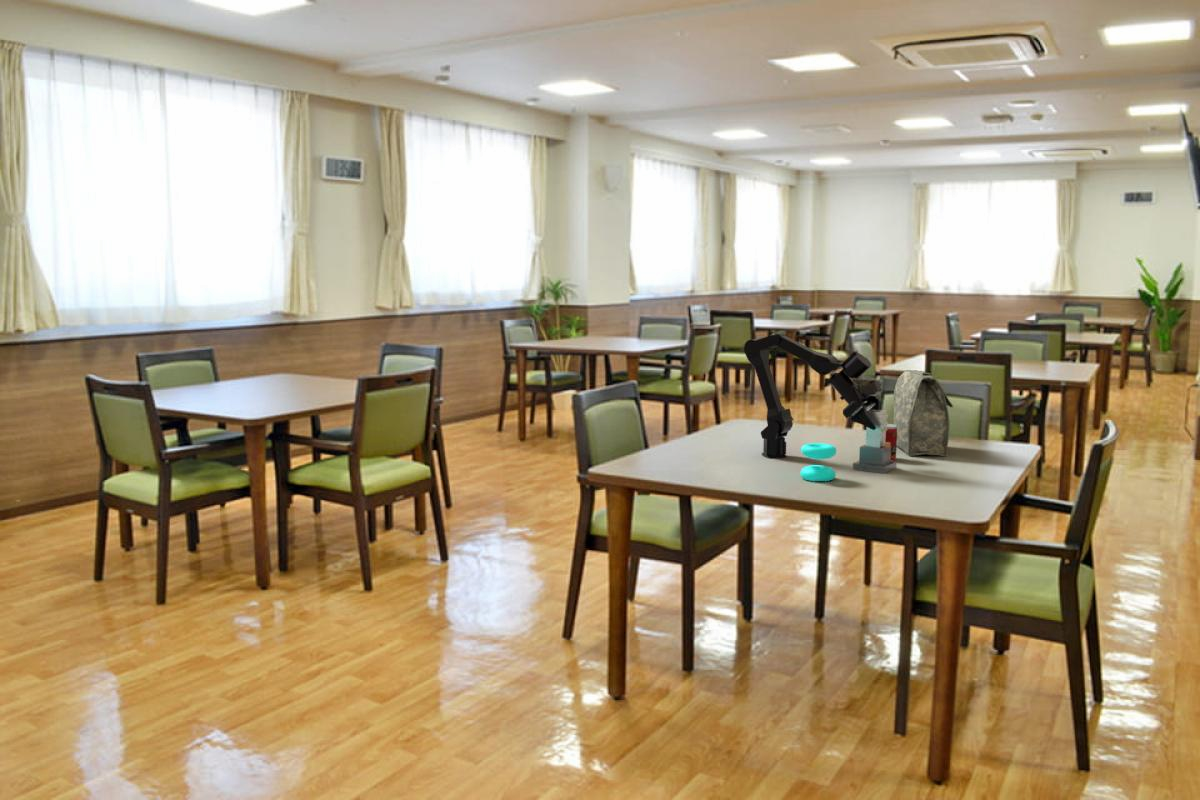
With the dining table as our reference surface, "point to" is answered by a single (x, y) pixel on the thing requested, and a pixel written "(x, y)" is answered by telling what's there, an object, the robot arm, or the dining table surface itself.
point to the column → (877, 429)
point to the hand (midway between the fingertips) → (880, 427)
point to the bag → (921, 414)
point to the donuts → (818, 470)
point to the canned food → (892, 438)
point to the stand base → (875, 459)
